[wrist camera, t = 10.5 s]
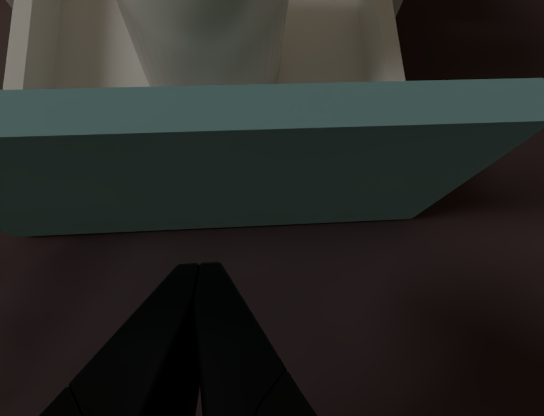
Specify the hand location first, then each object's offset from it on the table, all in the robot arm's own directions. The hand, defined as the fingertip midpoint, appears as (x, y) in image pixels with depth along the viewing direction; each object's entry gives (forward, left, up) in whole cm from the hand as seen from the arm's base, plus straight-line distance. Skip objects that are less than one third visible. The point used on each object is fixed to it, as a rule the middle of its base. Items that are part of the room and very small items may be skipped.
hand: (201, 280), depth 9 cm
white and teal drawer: (+9, -2, -7) cm, 12 cm away
